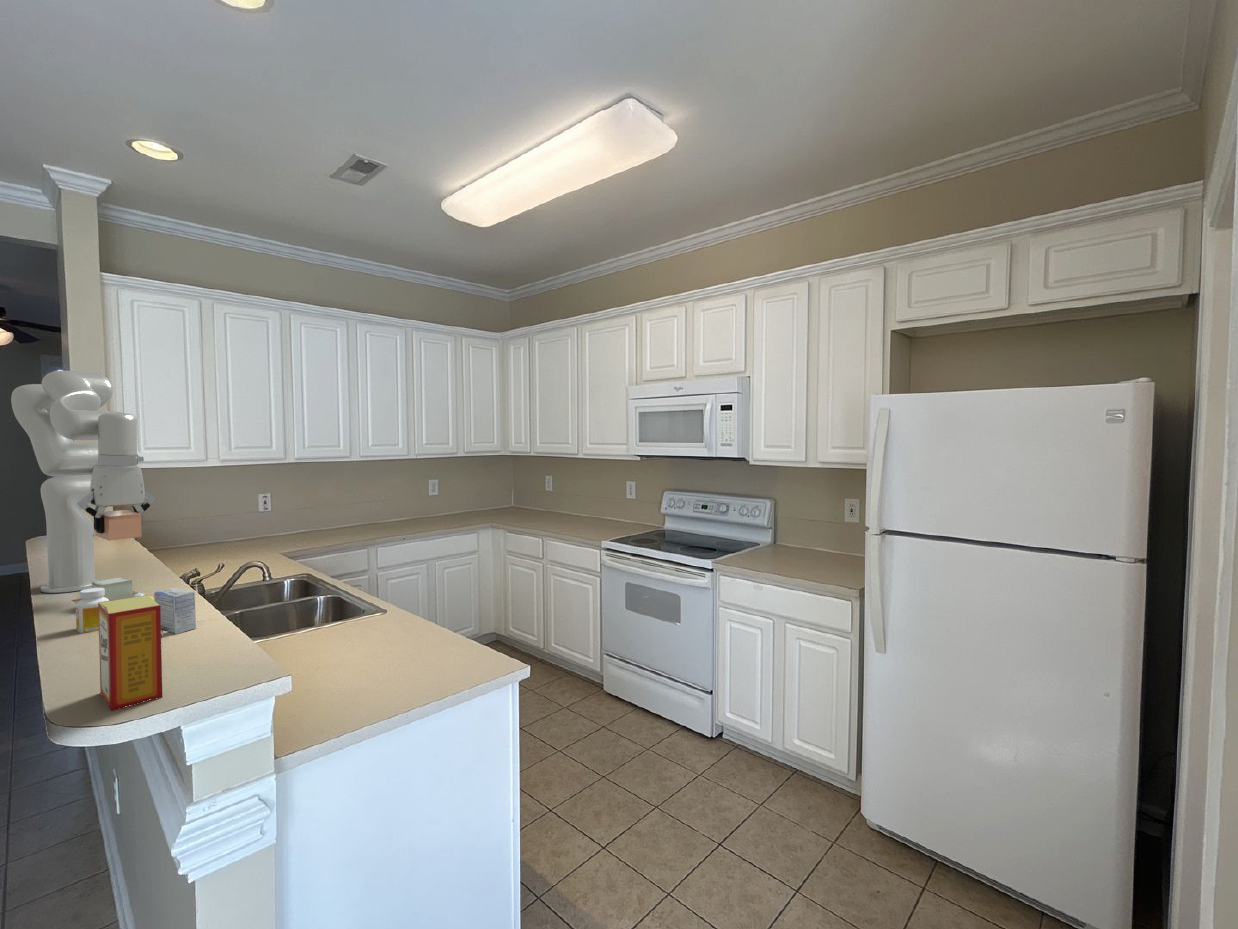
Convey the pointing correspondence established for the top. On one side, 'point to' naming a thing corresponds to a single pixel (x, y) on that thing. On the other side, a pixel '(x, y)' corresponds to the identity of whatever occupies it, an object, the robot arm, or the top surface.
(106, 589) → the sage green box
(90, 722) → the top surface
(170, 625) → the medicine box
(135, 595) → the marble
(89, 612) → the supplement bottle
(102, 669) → the baking soda box
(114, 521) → the terracotta box
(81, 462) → the robot arm
